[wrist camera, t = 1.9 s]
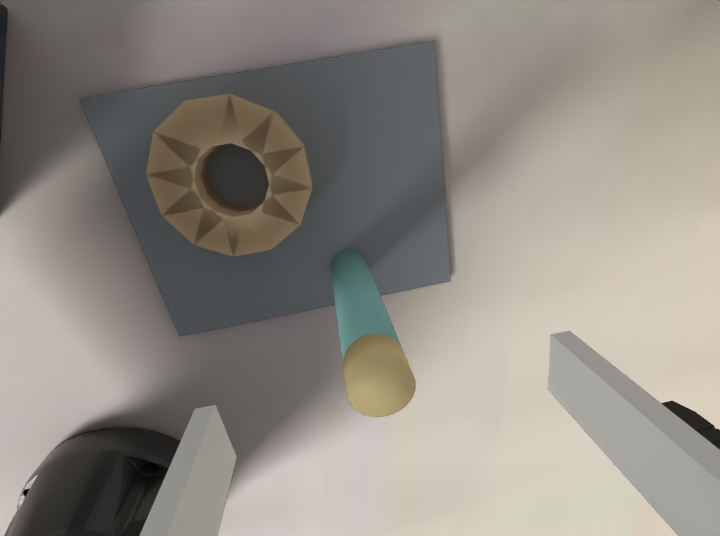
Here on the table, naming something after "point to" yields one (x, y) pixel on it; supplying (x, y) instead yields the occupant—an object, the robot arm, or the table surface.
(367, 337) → the teal and tan cylinder
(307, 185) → the bead
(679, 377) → the table surface
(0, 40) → the small box
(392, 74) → the mat
